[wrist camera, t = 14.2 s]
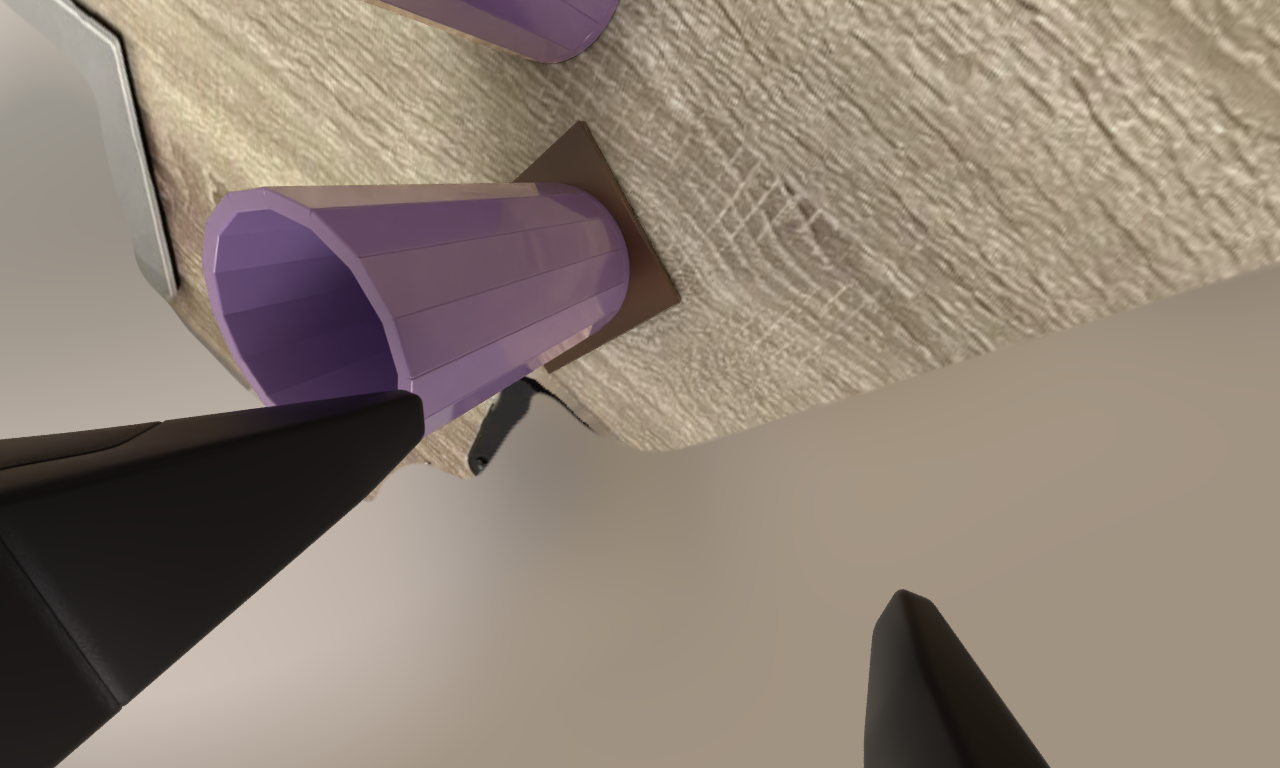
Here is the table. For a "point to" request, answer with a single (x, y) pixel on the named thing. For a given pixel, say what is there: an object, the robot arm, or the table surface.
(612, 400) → the table surface
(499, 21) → the tumbler
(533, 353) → the tumbler
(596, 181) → the coaster
